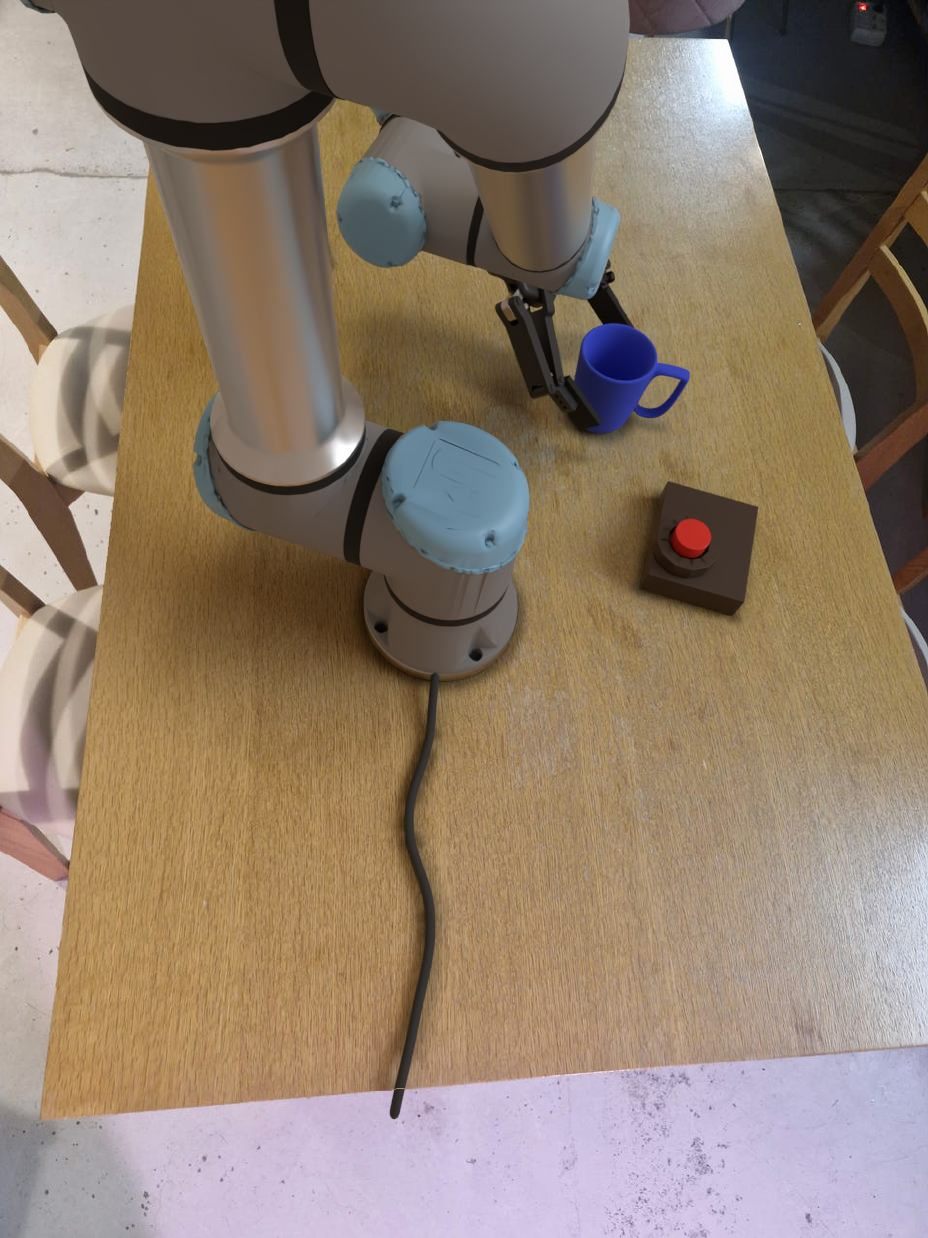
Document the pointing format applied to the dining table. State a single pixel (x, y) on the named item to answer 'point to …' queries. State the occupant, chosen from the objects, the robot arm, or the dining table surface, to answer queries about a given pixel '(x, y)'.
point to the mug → (621, 374)
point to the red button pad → (719, 567)
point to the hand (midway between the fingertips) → (608, 380)
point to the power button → (690, 538)
